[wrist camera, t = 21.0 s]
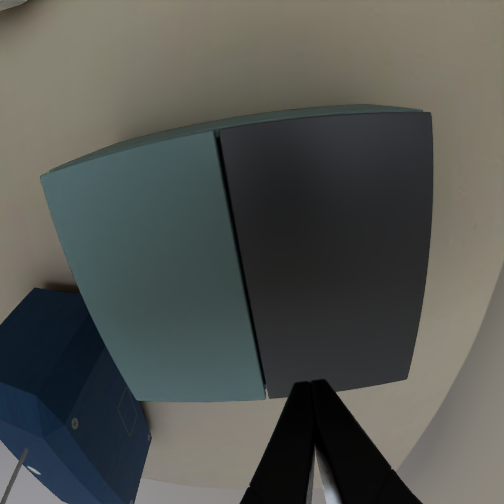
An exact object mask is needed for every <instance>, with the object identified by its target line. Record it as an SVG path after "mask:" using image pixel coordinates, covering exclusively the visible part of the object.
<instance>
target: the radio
mask: <svg viewBox="0 0 504 504" xmlns="http://www.w3.org/2000/svg"><path fill="white" fill-rule="evenodd" d="M151 439H152V437H151V434H150V431H149V428H148V426H147V423H146V420H145V417H144V414H143V411H142V408H141V405H140V402H139V401H137V400H136V399H135V397H134V395H133V394H132V392H131V390H130V389H129V387H128V385H127V383H126V382H125V380H124V378H123V376H122V375H121V373H120V371H119V369H118V368H117V366H116V364H115V362H114V360H113V358H112V357H111V355H110V353H109V351H108V349H107V347H106V345H105V343H104V341H103V339H102V337H101V335H100V333H99V331H98V329H97V327H96V325H95V323H94V321H93V319H92V317H91V315H90V313H89V310H88V308H87V306H86V304H85V302H84V299H83V297H82V295H80V294H73V293H66V292H59V291H53V290H46V289H40V288H34V289H33V290H32V291H31V292H30V293H29V294H28V295H27V296H26V297H25V298H24V299H23V300H22V301H21V303H20V304H19V305H18V306H17V307H16V308H15V309H14V310H13V311H12V312H11V313H10V315H9V316H8V317H7V318H6V319H5V320H4V321H3V322H2V324H1V325H0V440H1V441H2V442H3V443H4V445H5V446H6V447H7V448H8V449H9V450H10V451H11V452H12V454H13V455H14V456H15V457H16V458H17V459H18V460H19V462H18V464H17V466H16V469H15V471H14V473H13V475H12V478H11V480H10V482H9V485H8V486H7V489H6V491H5V494H4V496H3V498H2V501H1V503H0V504H5V502H6V500H7V497H8V495H9V493H10V490H11V488H12V485H13V483H14V481H15V479H16V476H17V474H18V472H19V470H20V467H21V465H22V464H23V465H24V466H25V467H26V468H27V469H28V470H29V471H30V472H31V473H32V474H33V475H34V476H35V477H36V478H37V479H38V480H39V481H40V482H41V483H42V484H43V485H44V486H46V487H47V488H48V489H49V490H50V491H51V492H52V493H53V494H55V495H56V496H57V497H58V498H59V499H60V500H61V501H63V502H66V503H68V504H134V502H135V498H136V494H137V491H138V487H139V483H140V479H141V475H142V472H143V468H144V464H145V461H146V457H147V453H148V450H149V446H150V443H151Z"/></svg>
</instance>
